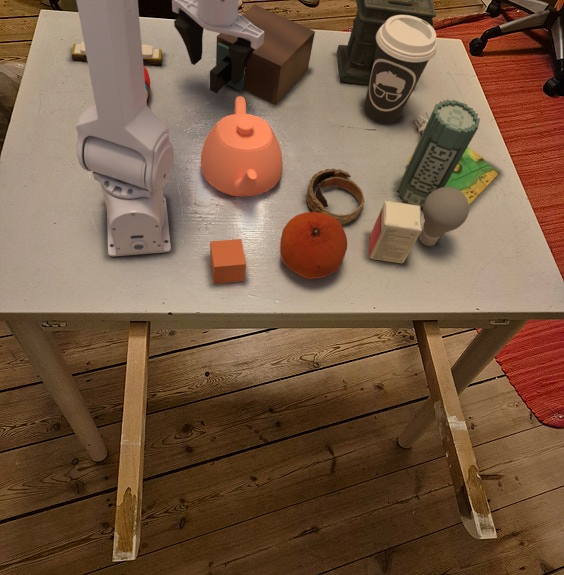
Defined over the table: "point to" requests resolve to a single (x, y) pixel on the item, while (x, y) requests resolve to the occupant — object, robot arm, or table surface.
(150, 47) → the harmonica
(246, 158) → the teapot
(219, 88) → the door
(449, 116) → the can
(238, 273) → the block
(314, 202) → the bracelet
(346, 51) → the model
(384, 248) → the small box
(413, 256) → the table surface
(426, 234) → the light bulb
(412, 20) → the coffee cup
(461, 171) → the terrain map
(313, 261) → the fruit
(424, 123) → the stegosaurus
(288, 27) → the cupboard
